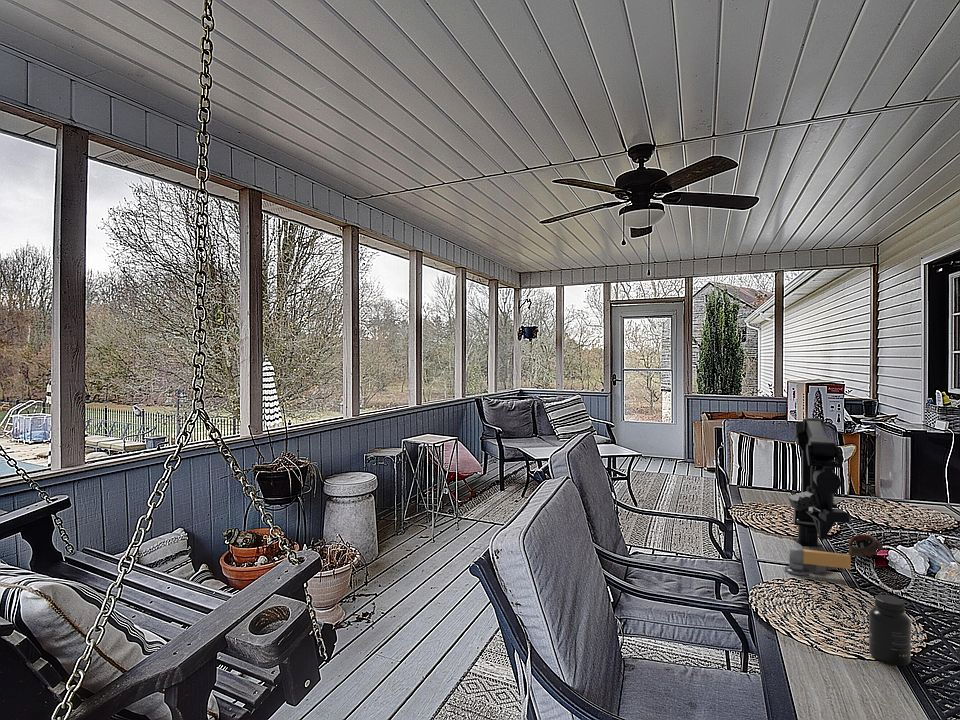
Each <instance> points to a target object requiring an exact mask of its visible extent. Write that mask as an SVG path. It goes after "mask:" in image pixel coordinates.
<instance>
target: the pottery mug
mask: <svg viewBox="0 0 960 720" xmlns="http://www.w3.org/2000/svg"><path fill="white" fill-rule="evenodd" d="M853 543H854V544H855V546H854V545H853ZM877 549H878V550H883V551H884V546H883V544H882V543H881V542H880V541H879V540H877V539H876V538H875V536H872V535H869V534H864V533H863V534H861V533H860V534H856V535H854V536H852V537H851V538H850V539H849V540H848V554H849V555H850V556H851V559H854V557H863V558H864V557H869V556H873V555H877V552H876V550H877Z"/></svg>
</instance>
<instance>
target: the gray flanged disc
mask: <svg viewBox="0 0 960 720" xmlns="http://www.w3.org/2000/svg"><path fill="white" fill-rule="evenodd" d="M788 564H789V565H785V566H784V571H785V572H786V573H788V574H790V575H793V576H798V577H799V576H801V577H806V576H808V575H809V574H810V571H808V570H807V569H805V568H804V563H803V564H796V563H792V562H790V561H789V563H788Z"/></svg>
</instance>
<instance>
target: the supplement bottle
mask: <svg viewBox="0 0 960 720" xmlns="http://www.w3.org/2000/svg"><path fill="white" fill-rule="evenodd" d="M874 600H875V601H874V607H873V608H871V609H870V611H869V615H868V651H869V653H870V655H871V656H872V657H873V658H874V659H876V660H878V661H879V662H882V663H885V664H887V665H891V666H895V667H905V666H908V665H909V664H910V663H911V655H912V654H911V653H912V650H911V649H912V646H911V643H912V641H911V638H912V635H911V633H912V631H911V630H912V627H911V626H912V623H911V619H910V618H909V616H908V615H907V614H905V613H906V608H905V601H904V600H903V599H900V598H899V597H896V596H893V595H888V594H876V595H875V597H874Z"/></svg>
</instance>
